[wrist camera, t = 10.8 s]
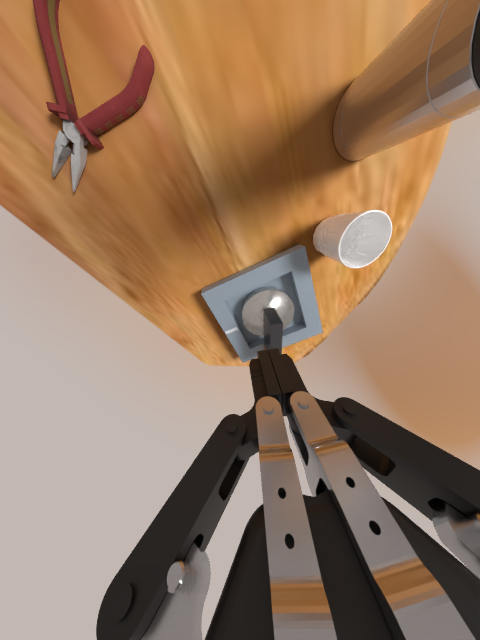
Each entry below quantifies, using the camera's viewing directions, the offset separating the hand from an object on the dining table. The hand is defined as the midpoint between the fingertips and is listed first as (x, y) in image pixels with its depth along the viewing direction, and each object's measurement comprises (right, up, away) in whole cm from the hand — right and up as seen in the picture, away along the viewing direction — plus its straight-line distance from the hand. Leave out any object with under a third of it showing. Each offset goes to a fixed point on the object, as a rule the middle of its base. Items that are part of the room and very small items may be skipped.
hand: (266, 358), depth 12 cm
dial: (+4, +3, +29) cm, 30 cm away
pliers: (-23, +33, +10) cm, 42 cm away
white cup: (+16, +20, +21) cm, 33 cm away
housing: (+4, +5, +29) cm, 29 cm away
